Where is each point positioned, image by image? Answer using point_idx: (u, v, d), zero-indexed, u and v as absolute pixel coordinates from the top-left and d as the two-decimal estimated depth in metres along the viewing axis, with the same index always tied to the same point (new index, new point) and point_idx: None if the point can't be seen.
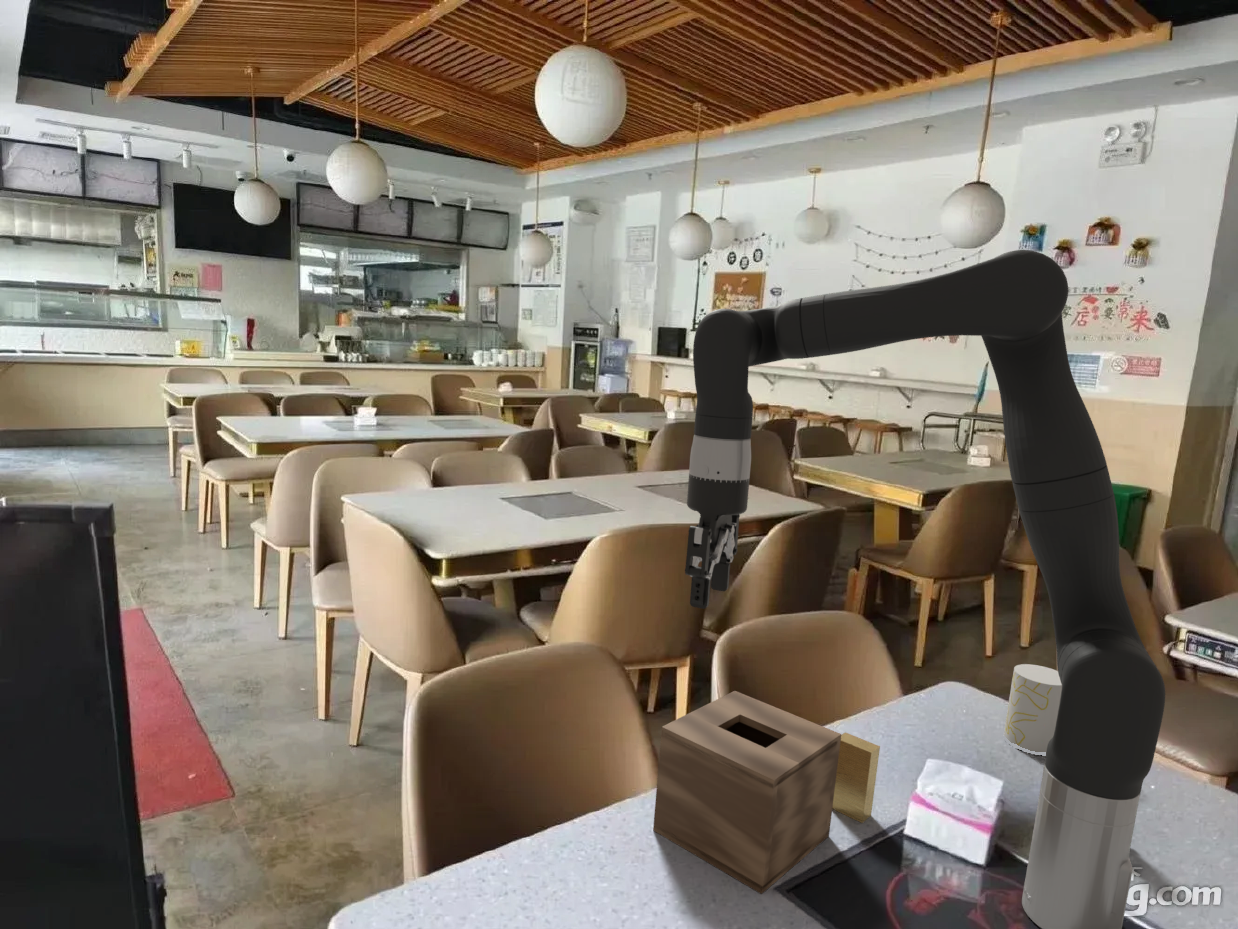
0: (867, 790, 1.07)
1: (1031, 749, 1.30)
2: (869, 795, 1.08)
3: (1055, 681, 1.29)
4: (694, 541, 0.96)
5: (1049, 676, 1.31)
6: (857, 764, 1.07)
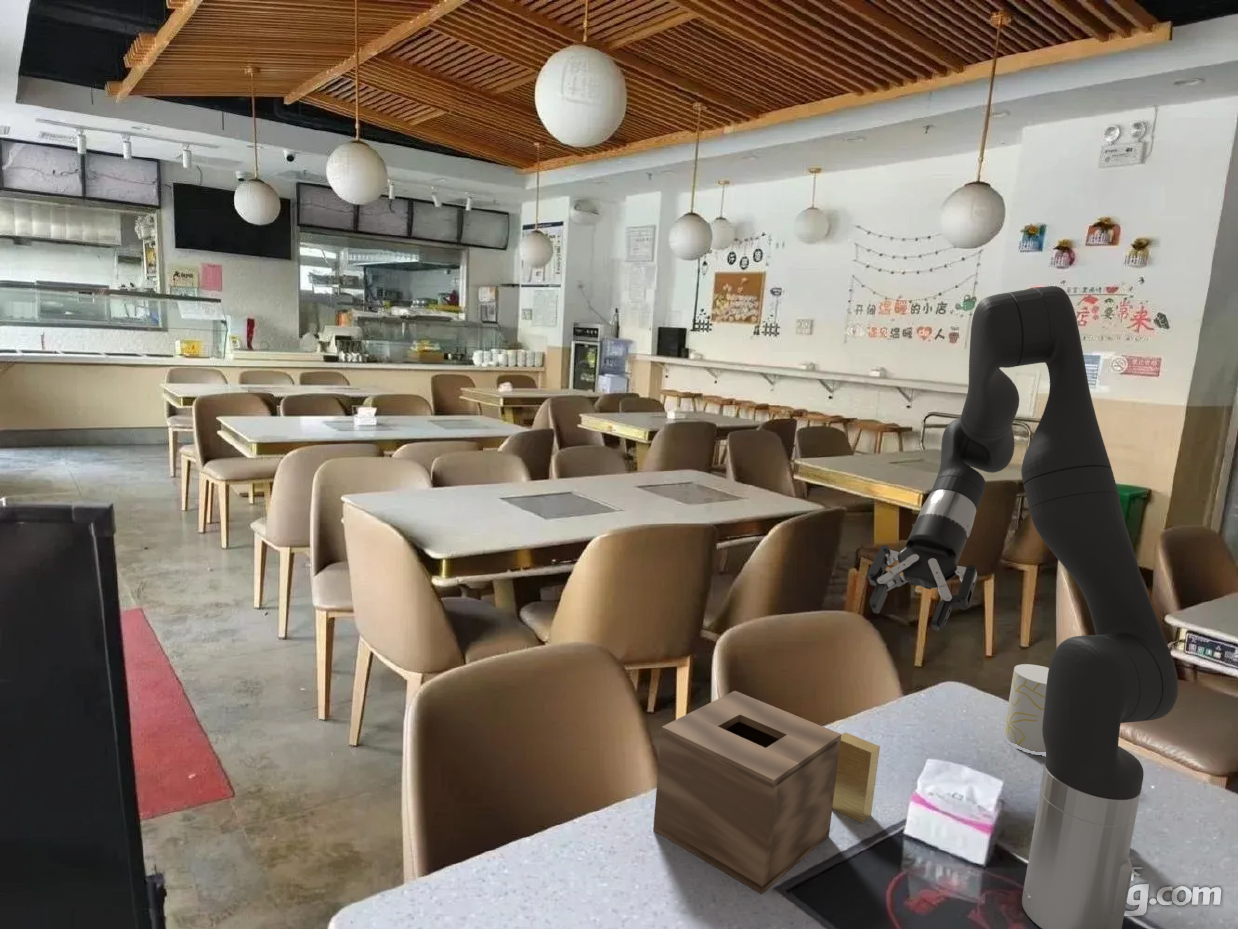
0: (867, 790, 1.07)
1: (1031, 749, 1.30)
2: (869, 795, 1.08)
3: None
4: None
5: None
6: (857, 764, 1.07)
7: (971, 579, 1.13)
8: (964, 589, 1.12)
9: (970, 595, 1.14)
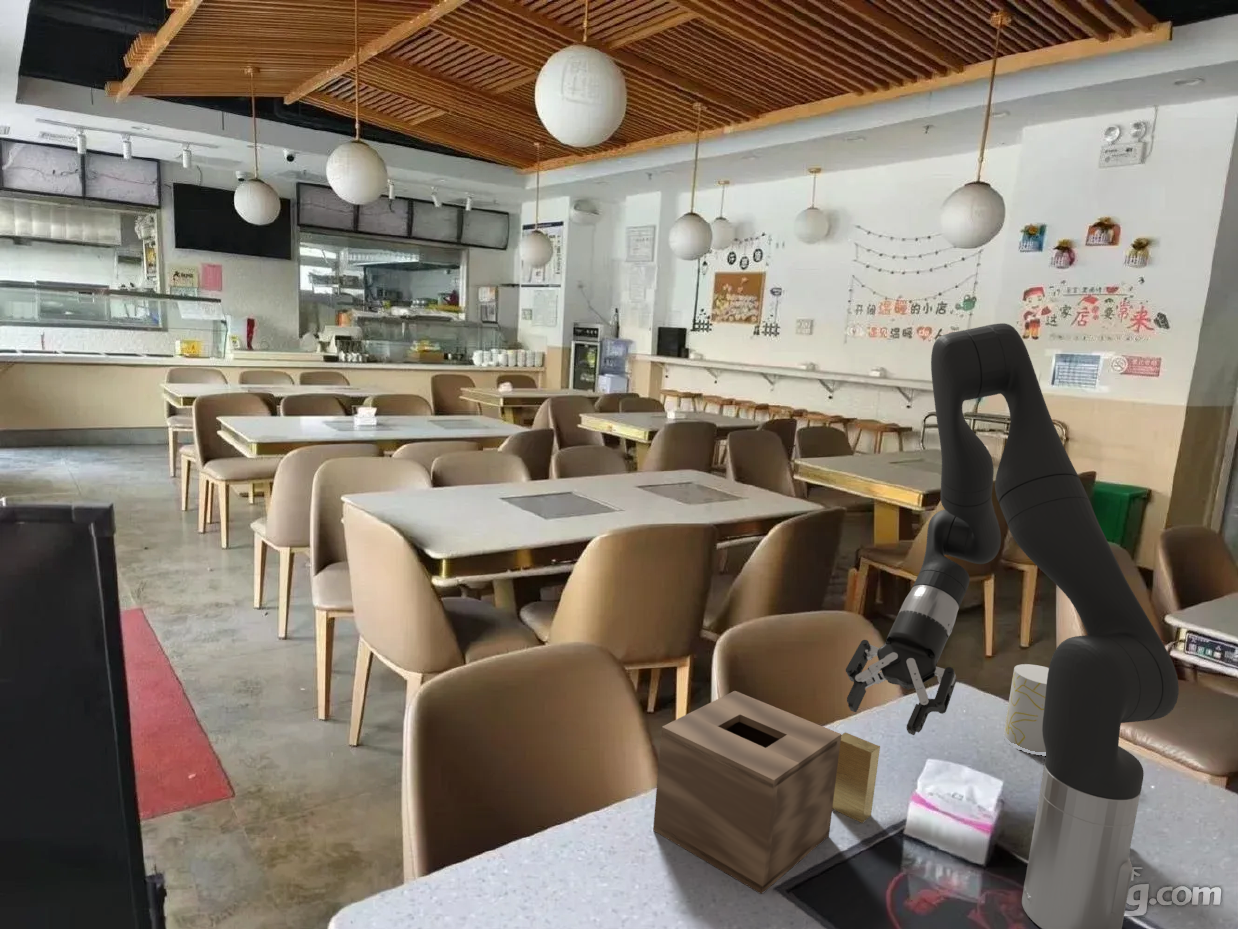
0: (867, 790, 1.07)
1: (1031, 749, 1.30)
2: (869, 795, 1.08)
3: None
4: None
5: None
6: (857, 764, 1.07)
7: (949, 683, 1.11)
8: (941, 693, 1.11)
9: (948, 698, 1.12)
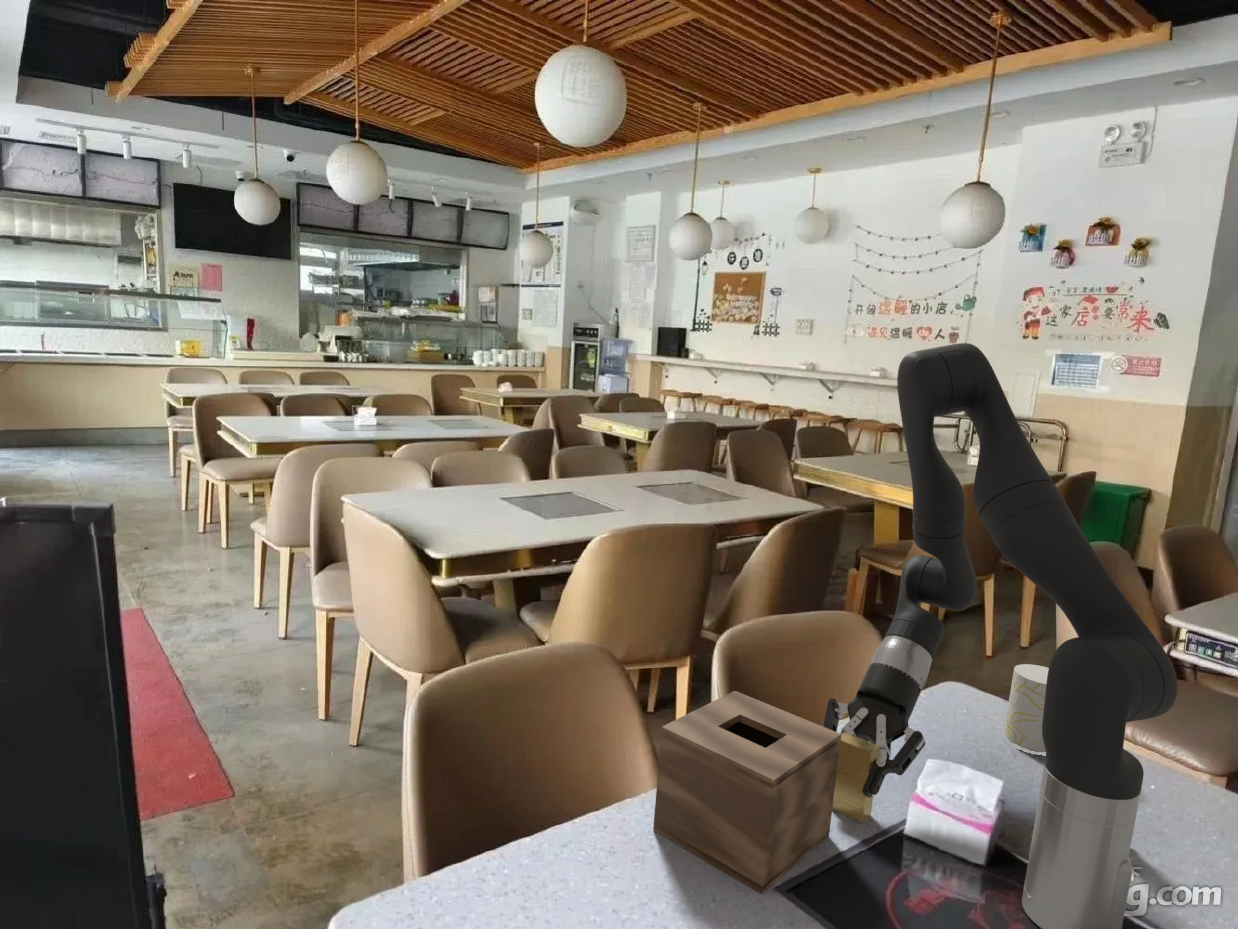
0: None
1: (1031, 749, 1.30)
2: None
3: None
4: None
5: None
6: (857, 763, 1.07)
7: (912, 747, 1.06)
8: (901, 756, 1.06)
9: (909, 762, 1.07)
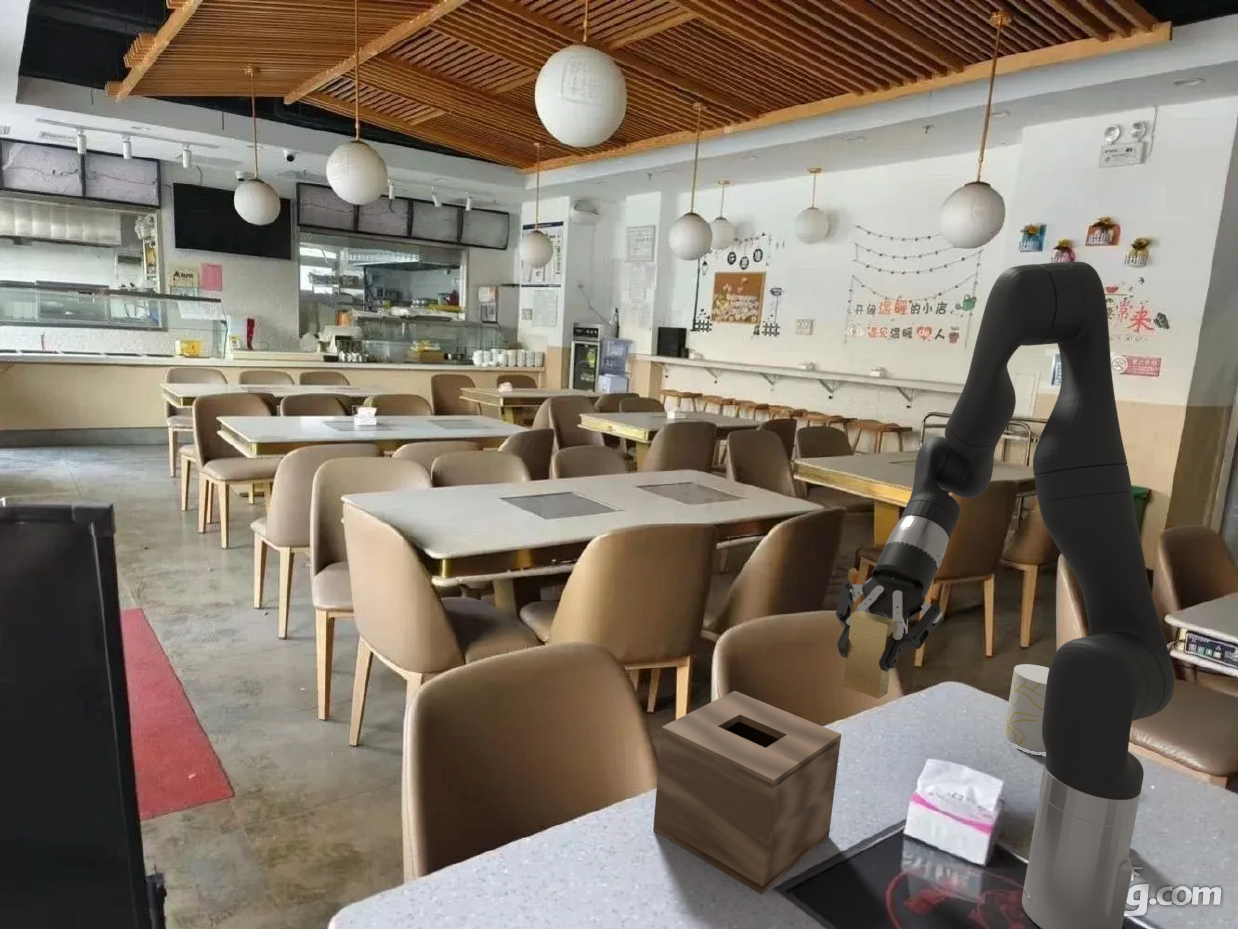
0: None
1: (1031, 749, 1.30)
2: None
3: None
4: None
5: None
6: (873, 637, 1.05)
7: (930, 619, 1.04)
8: (918, 628, 1.04)
9: (926, 636, 1.05)
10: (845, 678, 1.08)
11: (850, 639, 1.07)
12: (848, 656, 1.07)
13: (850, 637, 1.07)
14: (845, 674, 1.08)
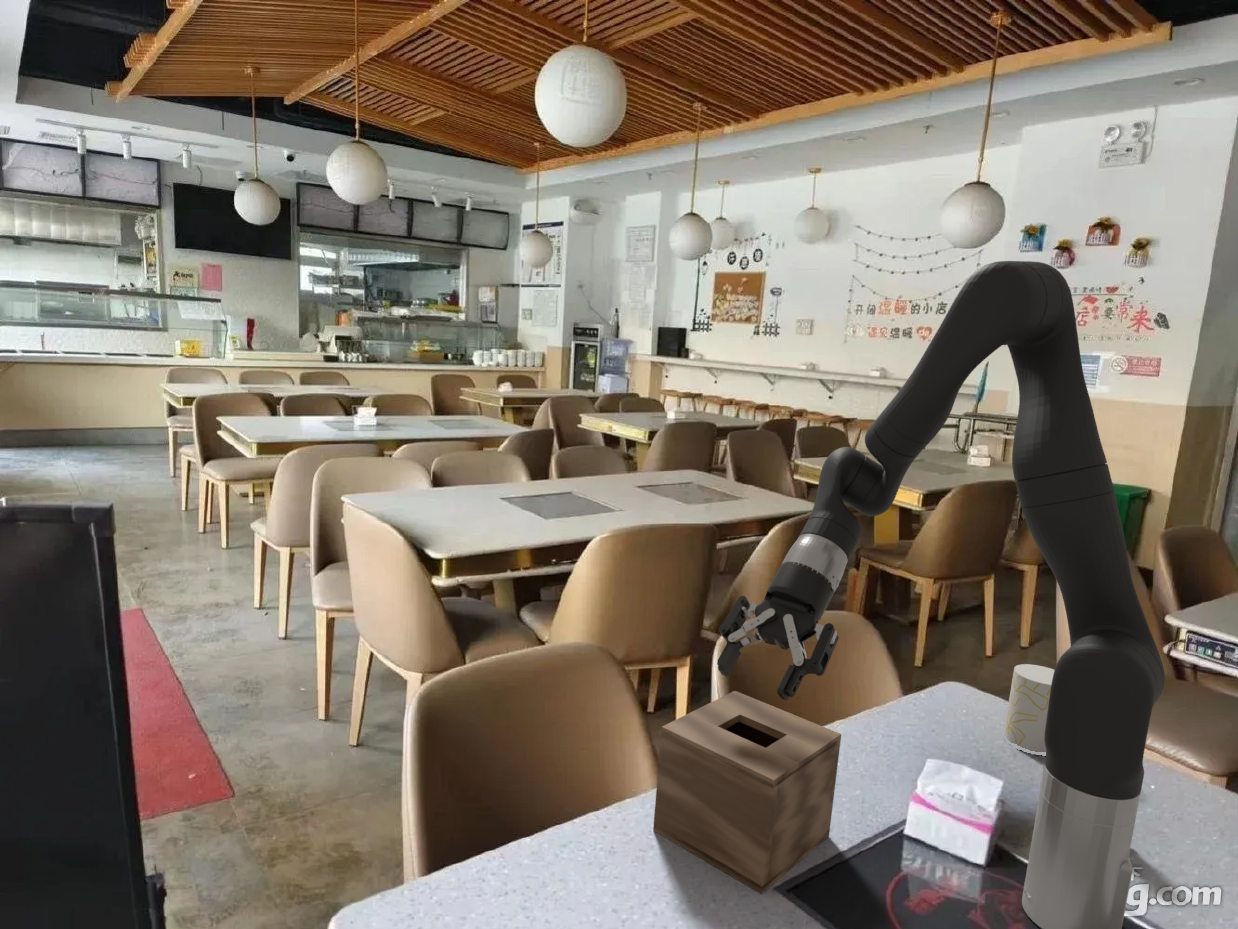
0: None
1: (1031, 749, 1.30)
2: None
3: None
4: None
5: (1049, 676, 1.31)
6: None
7: (827, 640, 0.97)
8: (818, 652, 0.97)
9: (827, 659, 0.98)
10: None
11: None
12: None
13: None
14: None
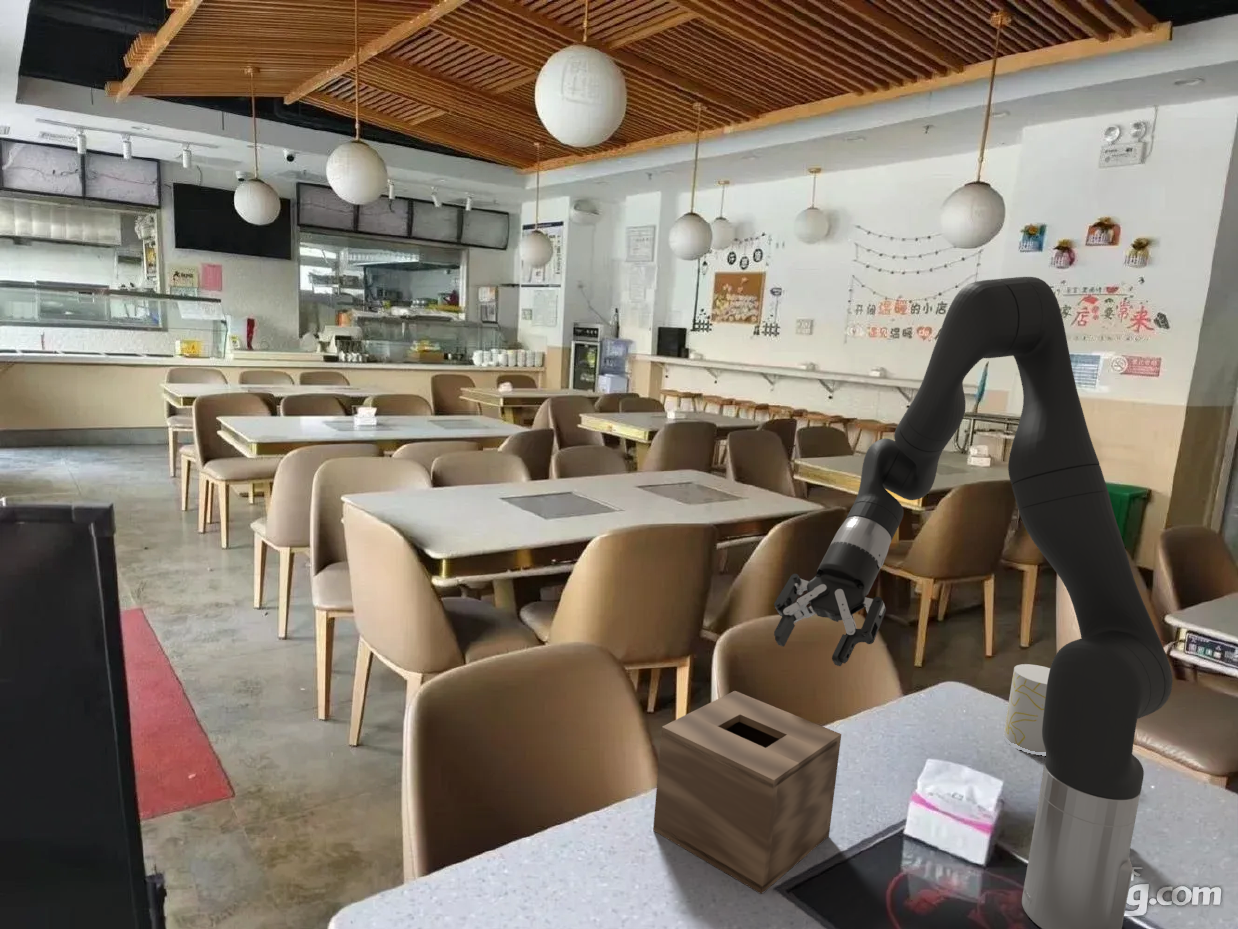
0: None
1: (1031, 749, 1.30)
2: None
3: None
4: None
5: None
6: None
7: (876, 612, 1.07)
8: (868, 622, 1.07)
9: (876, 629, 1.08)
10: None
11: None
12: None
13: None
14: None
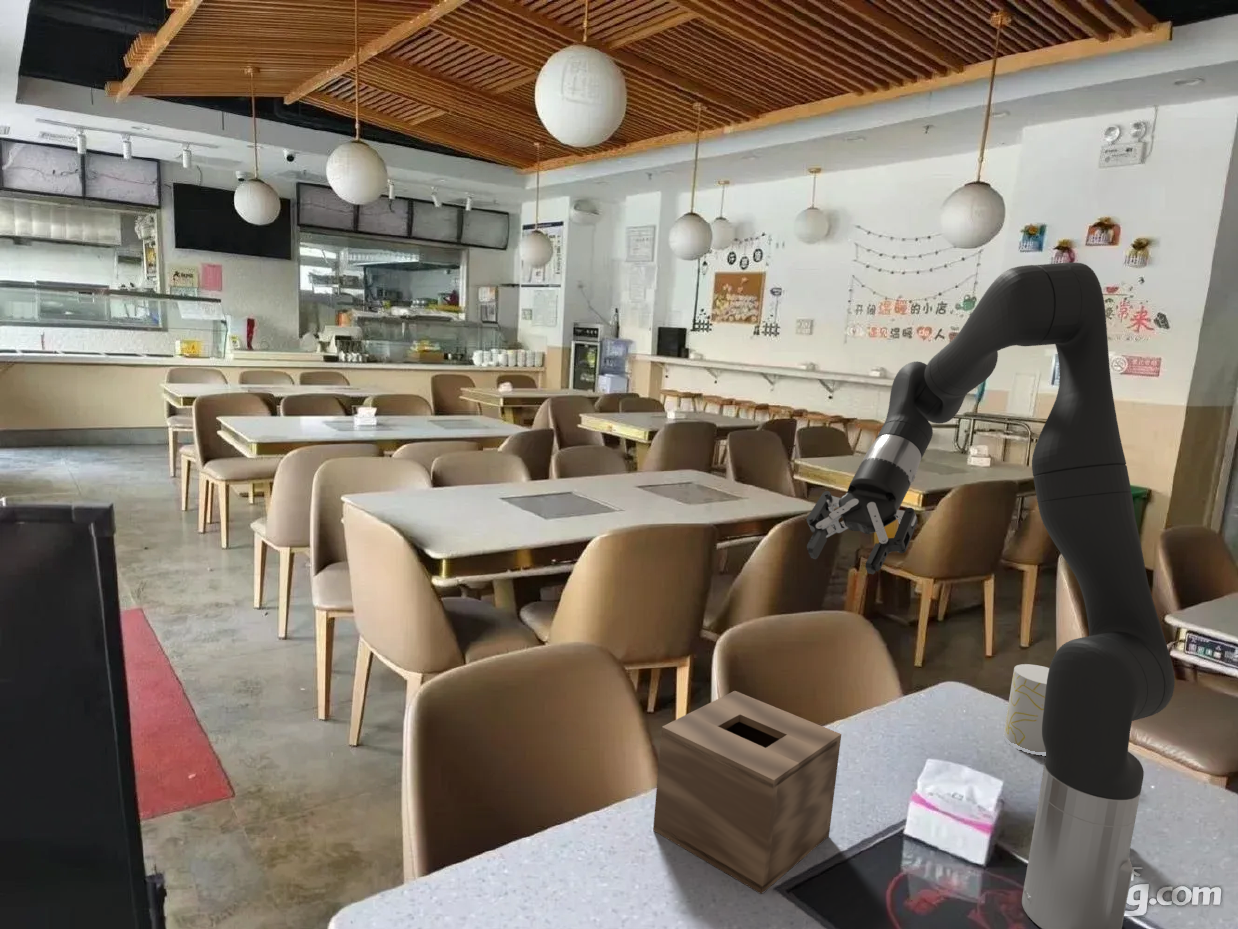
0: None
1: (1031, 749, 1.30)
2: None
3: None
4: None
5: None
6: None
7: (909, 522, 1.09)
8: (901, 531, 1.09)
9: (908, 538, 1.10)
10: None
11: None
12: None
13: None
14: None
